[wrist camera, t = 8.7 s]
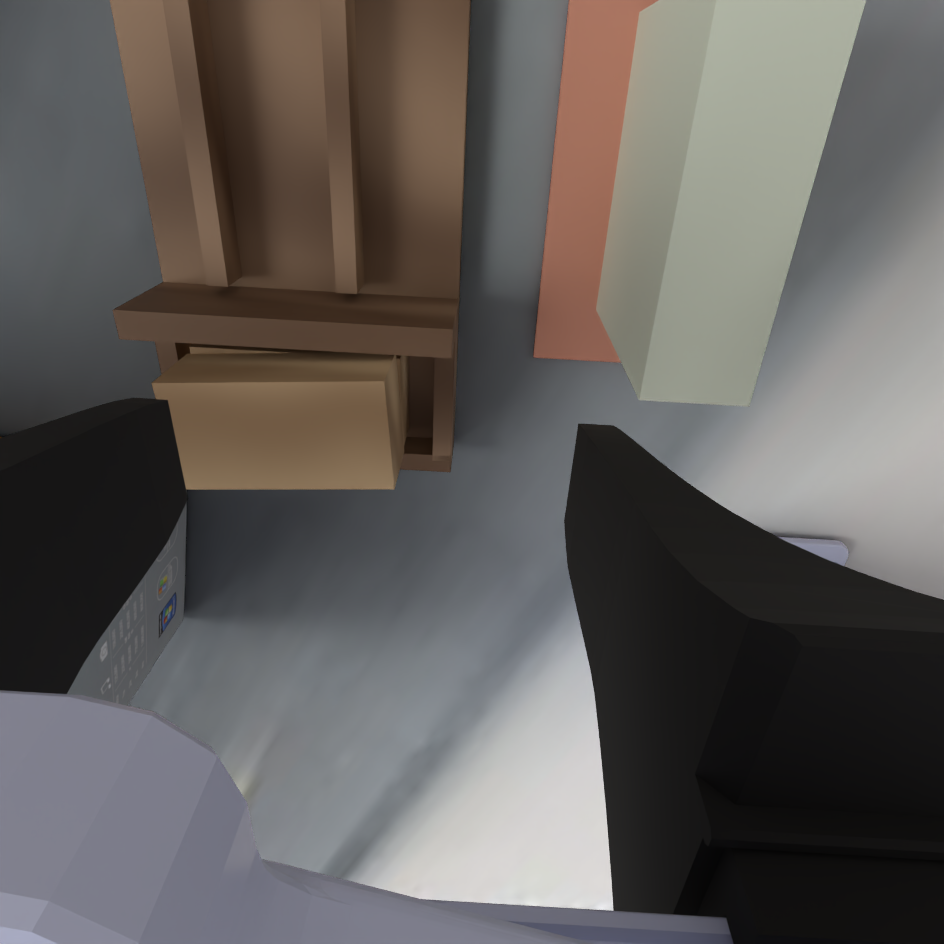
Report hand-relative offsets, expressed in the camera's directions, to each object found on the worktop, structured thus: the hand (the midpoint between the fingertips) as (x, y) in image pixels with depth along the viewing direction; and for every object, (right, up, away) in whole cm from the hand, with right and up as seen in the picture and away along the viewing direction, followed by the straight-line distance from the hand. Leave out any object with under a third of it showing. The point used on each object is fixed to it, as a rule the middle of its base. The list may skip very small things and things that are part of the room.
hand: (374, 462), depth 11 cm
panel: (+7, +8, +7) cm, 13 cm away
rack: (-3, +8, +8) cm, 11 cm away
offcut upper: (-3, +2, +8) cm, 9 cm away
